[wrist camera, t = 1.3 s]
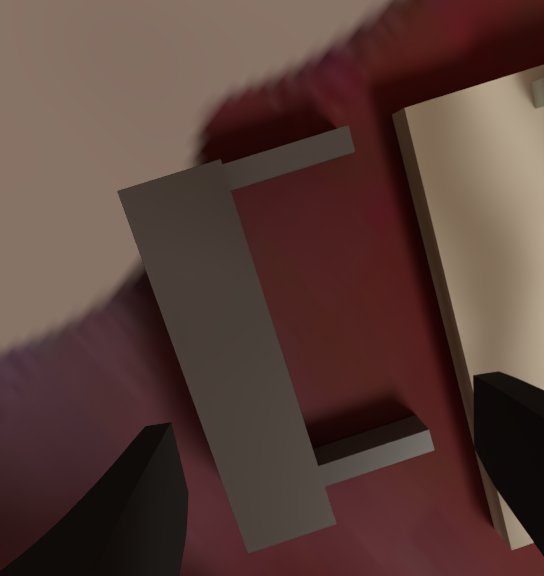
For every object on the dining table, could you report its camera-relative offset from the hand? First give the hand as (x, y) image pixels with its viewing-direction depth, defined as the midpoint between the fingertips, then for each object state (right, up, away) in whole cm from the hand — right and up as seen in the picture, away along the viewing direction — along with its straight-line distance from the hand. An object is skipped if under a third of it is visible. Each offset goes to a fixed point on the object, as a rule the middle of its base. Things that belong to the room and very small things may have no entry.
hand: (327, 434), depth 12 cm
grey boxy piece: (-1, +2, +10) cm, 10 cm away
